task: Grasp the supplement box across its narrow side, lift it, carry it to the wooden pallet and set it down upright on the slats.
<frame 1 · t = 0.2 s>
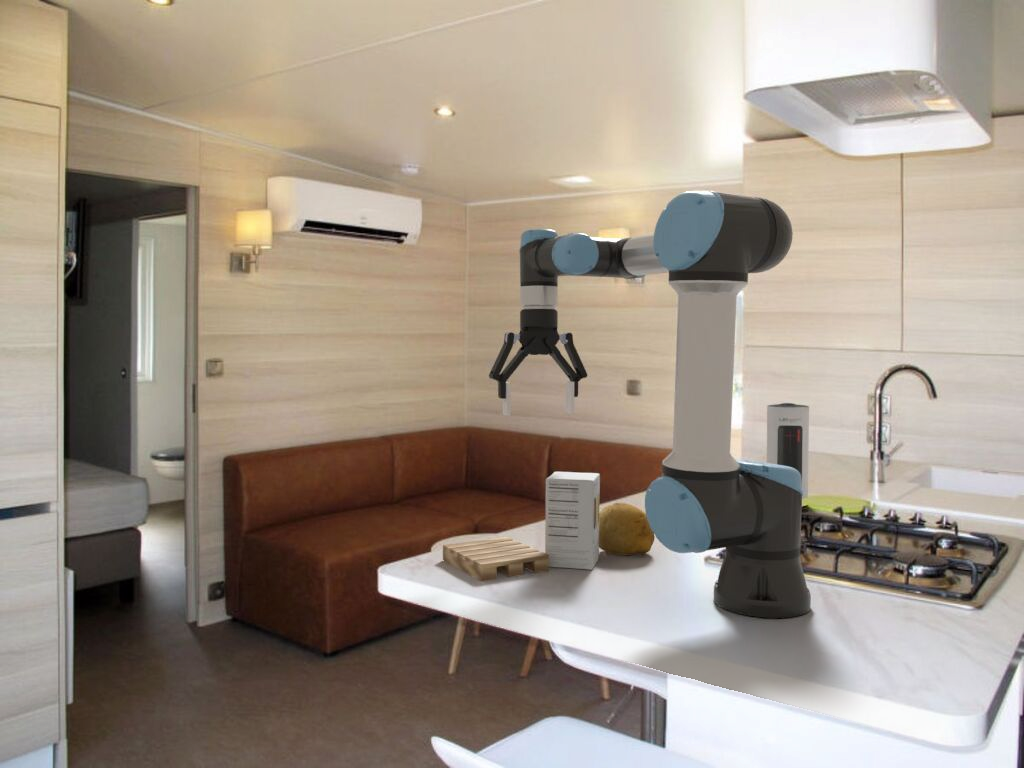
hand: (538, 414, 172), 27 cm above the countertop, fingers open, 13 cm apart
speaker: (786, 505, 221), on the countertop
supplement box: (572, 563, 164), on the countertop
wooden pallet: (494, 565, 161), on the countertop
potato: (622, 553, 171), on the countertop
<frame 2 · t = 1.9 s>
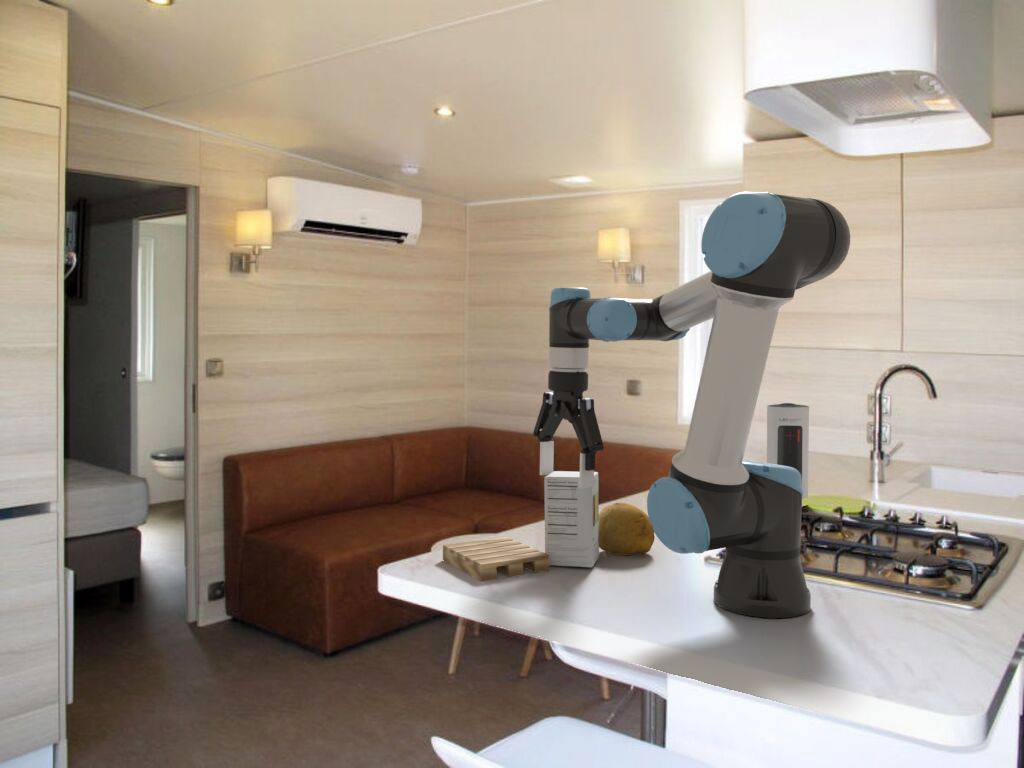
hand: (565, 481, 163), 16 cm above the countertop, fingers open, 13 cm apart
nothing on the countertop moved.
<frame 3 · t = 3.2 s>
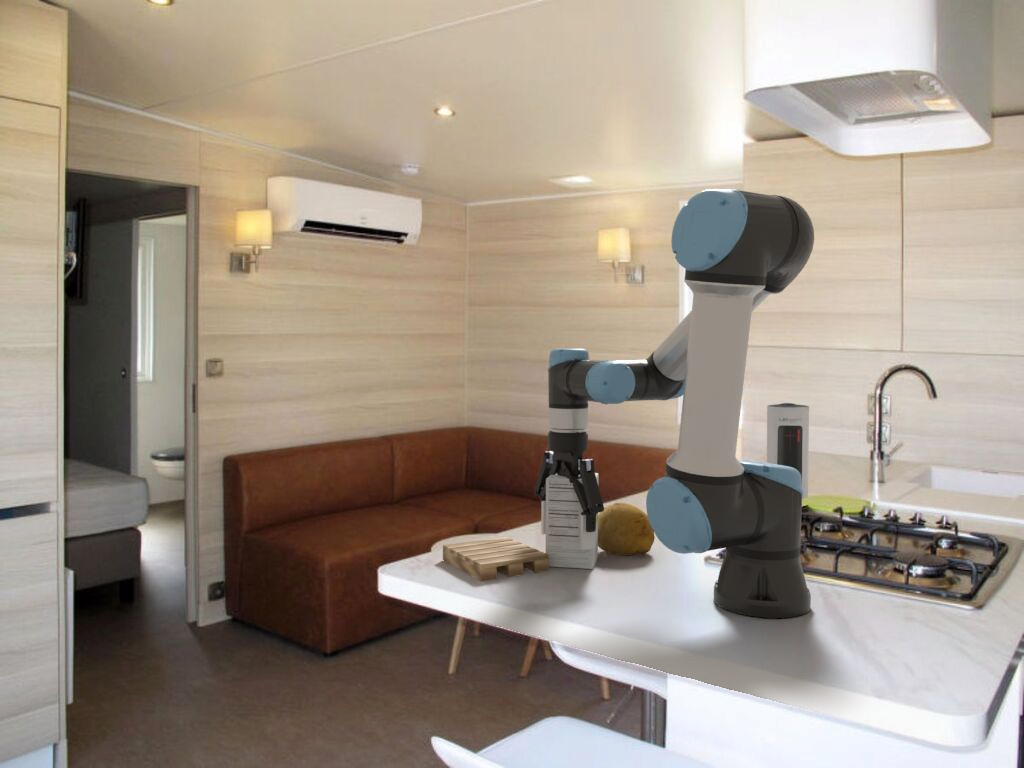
hand: (567, 540, 163), 4 cm above the countertop, fingers open, 13 cm apart
nothing on the countertop moved.
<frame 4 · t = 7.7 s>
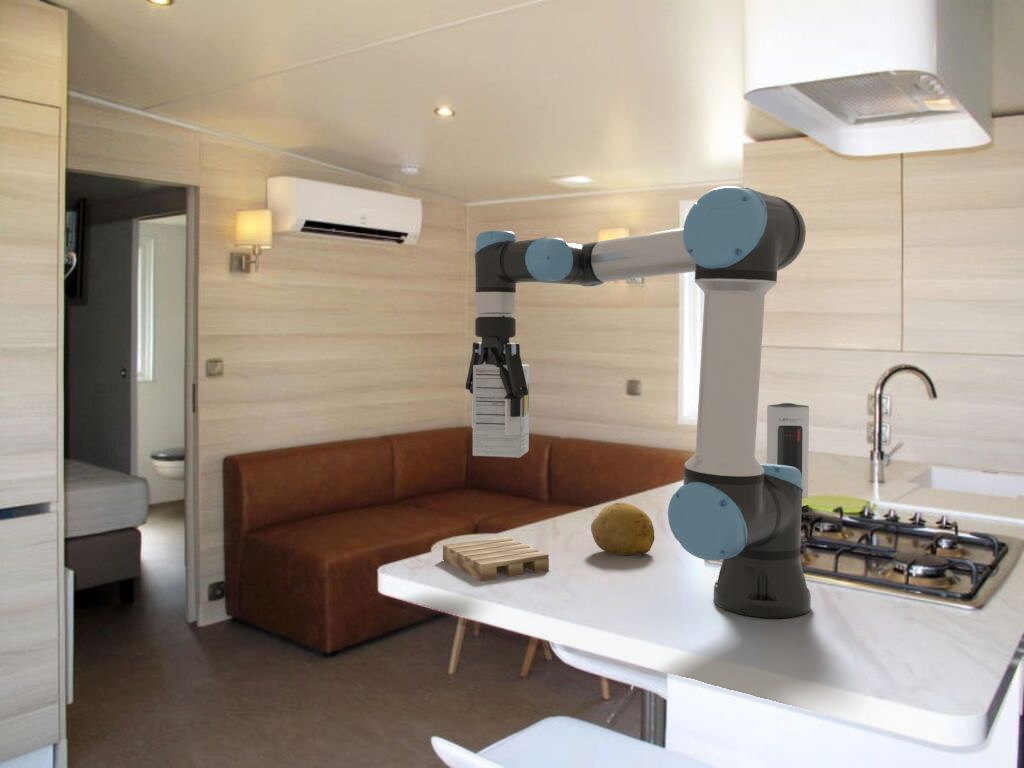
hand: (495, 431, 160), 25 cm above the countertop, fingers closed on supplement box, 12 cm apart
supplement box: (501, 454, 161), point 21 cm above the countertop, touching gripper
everything else where it was.
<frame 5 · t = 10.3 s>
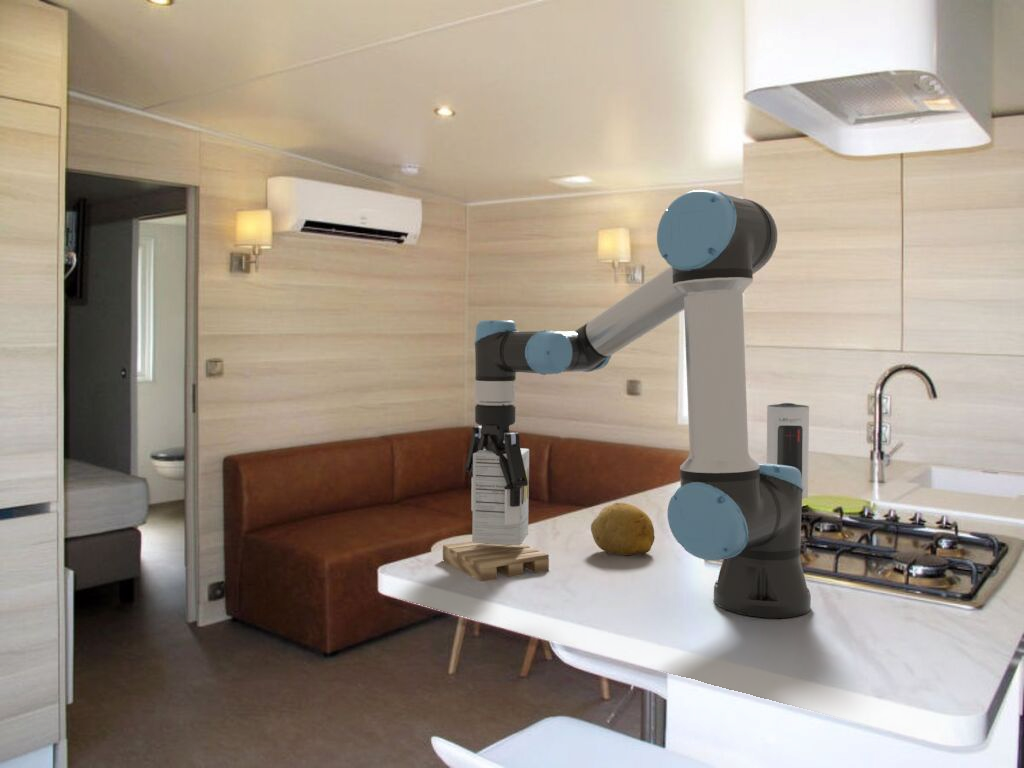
hand: (494, 517, 161), 9 cm above the countertop, fingers closed on supplement box, 12 cm apart
supplement box: (500, 539, 162), point 5 cm above the countertop, touching gripper
everything else where it was.
when the fingers open (8 cm above the countertop, at t = 11.8 s): supplement box stays where it is, resting on wooden pallet.
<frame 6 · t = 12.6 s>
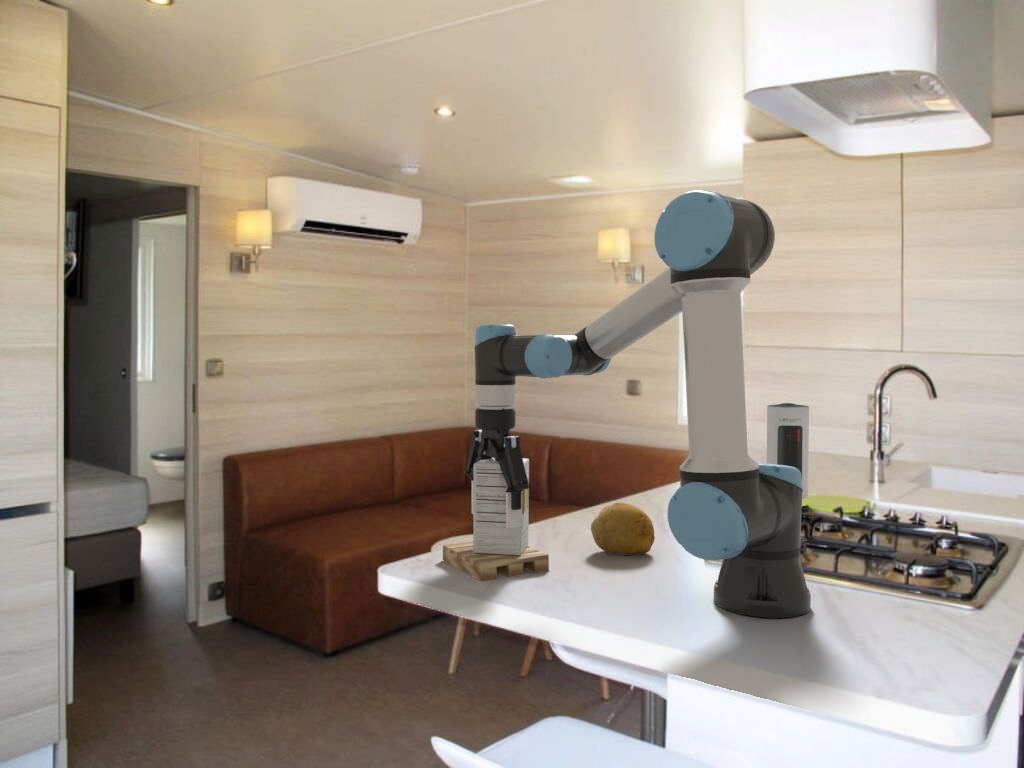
hand: (495, 520, 161), 9 cm above the countertop, fingers open, 13 cm apart
supplement box: (501, 549, 162), point 3 cm above the countertop, touching gripper, wooden pallet
everything else where it was.
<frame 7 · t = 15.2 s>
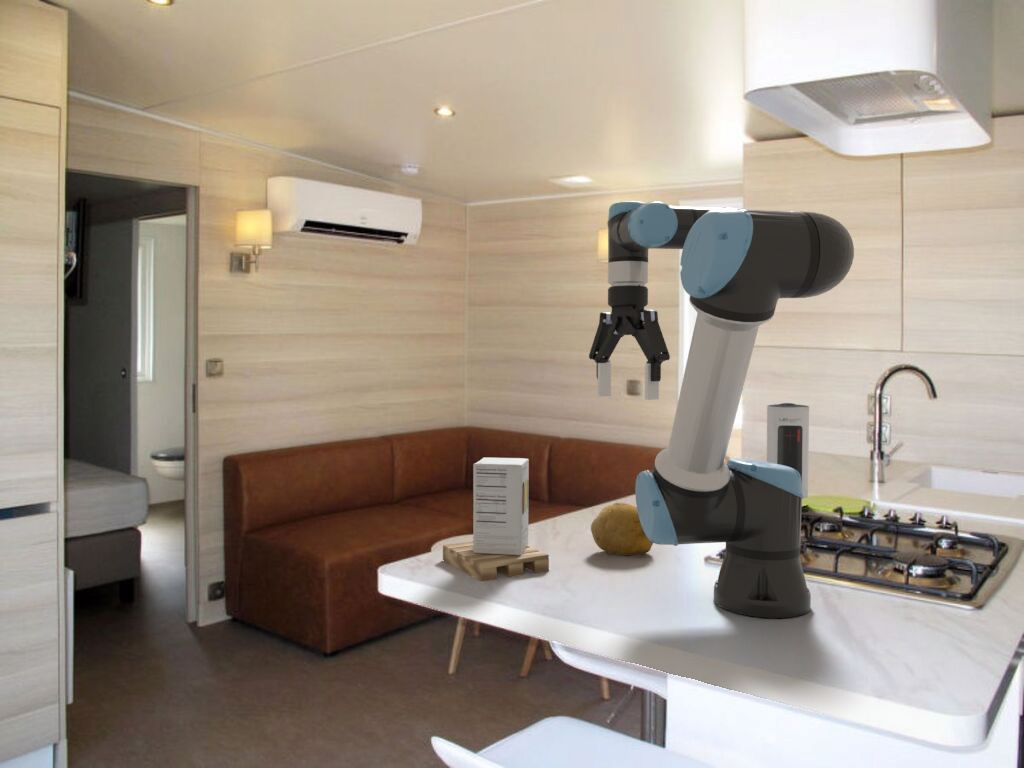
hand: (627, 398, 163), 32 cm above the countertop, fingers open, 13 cm apart
supplement box: (501, 549, 162), point 3 cm above the countertop, touching wooden pallet
everything else where it was.
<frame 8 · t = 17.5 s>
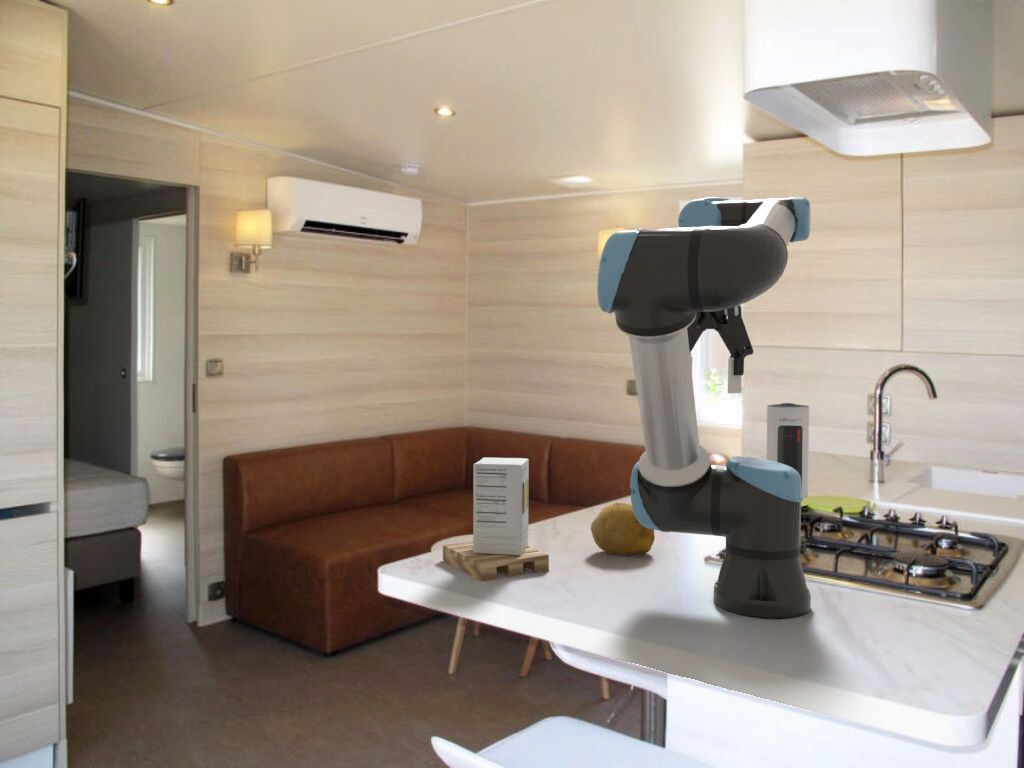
hand: (709, 391, 166), 33 cm above the countertop, fingers open, 13 cm apart
nothing on the countertop moved.
at the end: supplement box 1.4 cm from the wooden pallet (horizontally); supplement box touching wooden pallet; supplement box tilted 0° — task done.
